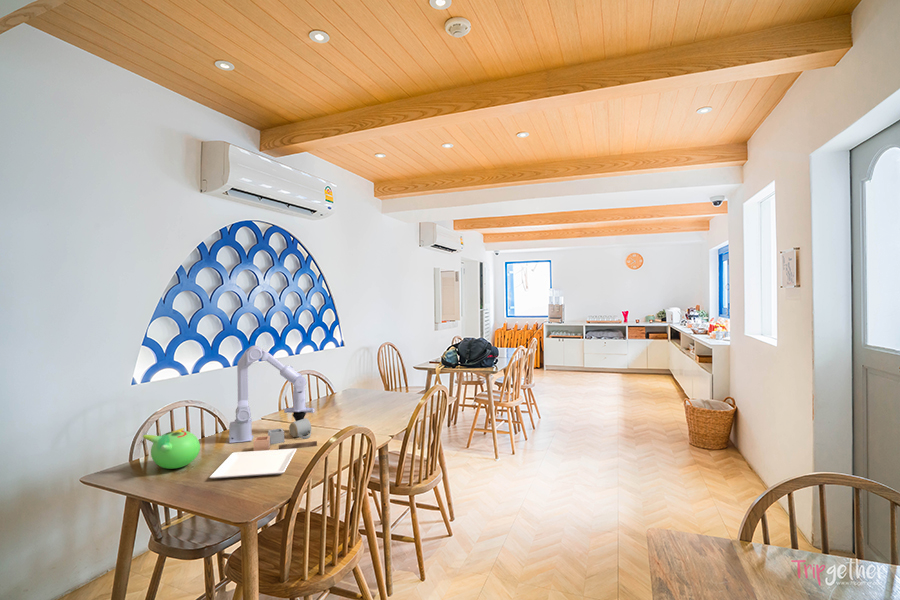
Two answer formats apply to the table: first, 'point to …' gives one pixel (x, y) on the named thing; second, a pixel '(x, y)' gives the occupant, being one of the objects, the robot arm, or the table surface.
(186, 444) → the green teapot
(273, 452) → the plate
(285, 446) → the walnut strip
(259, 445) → the terracotta pot
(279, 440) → the slate pot
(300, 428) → the ceramic mug
